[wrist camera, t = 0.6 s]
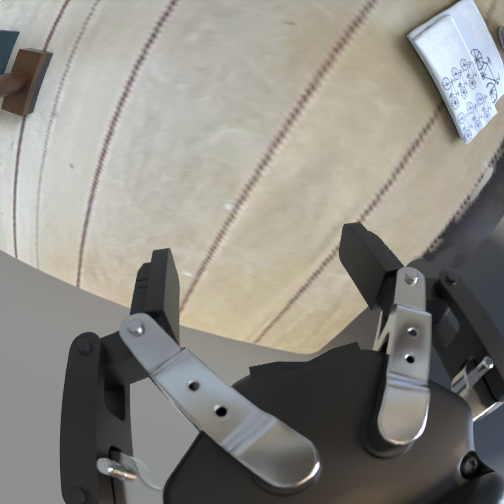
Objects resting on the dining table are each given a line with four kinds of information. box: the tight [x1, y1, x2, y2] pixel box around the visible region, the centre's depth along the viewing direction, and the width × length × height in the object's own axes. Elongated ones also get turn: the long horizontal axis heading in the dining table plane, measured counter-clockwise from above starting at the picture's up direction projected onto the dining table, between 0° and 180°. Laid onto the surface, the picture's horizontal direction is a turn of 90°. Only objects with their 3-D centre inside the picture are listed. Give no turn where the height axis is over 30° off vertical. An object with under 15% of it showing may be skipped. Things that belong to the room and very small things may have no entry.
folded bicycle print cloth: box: [407, 0, 504, 145], centre depth 21 cm, size 19×20×2 cm
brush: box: [0, 48, 53, 116], centre depth 14 cm, size 8×4×12 cm, turn 149°
